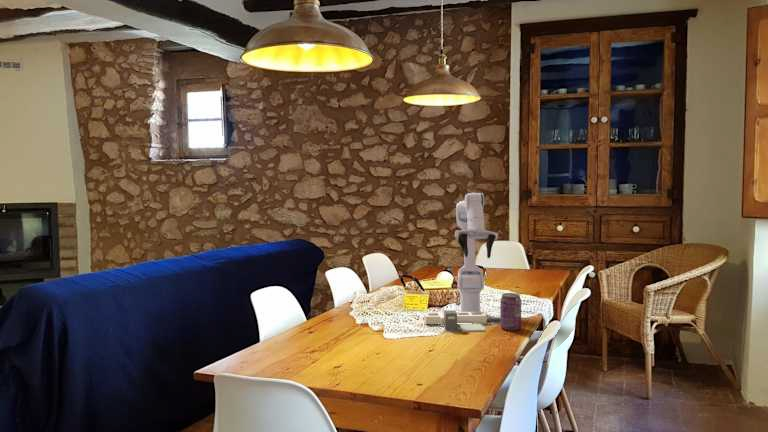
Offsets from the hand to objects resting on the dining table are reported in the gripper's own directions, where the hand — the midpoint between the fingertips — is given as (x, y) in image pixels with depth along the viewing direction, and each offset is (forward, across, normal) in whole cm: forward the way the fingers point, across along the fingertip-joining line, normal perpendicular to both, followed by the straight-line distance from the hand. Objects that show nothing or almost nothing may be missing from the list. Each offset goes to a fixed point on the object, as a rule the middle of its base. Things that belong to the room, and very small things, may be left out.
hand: (477, 256), depth 203 cm
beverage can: (+16, +15, +21) cm, 31 cm away
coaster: (+16, +1, +22) cm, 28 cm away
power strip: (+12, 0, +28) cm, 31 cm away
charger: (+16, -6, +24) cm, 29 cm away
